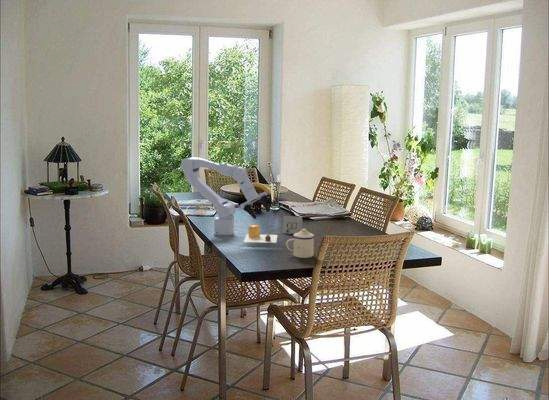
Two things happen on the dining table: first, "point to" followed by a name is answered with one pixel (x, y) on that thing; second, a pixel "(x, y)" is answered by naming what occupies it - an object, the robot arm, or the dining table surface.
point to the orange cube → (254, 231)
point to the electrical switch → (292, 224)
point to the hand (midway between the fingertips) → (261, 215)
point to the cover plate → (262, 239)
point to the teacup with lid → (302, 244)
